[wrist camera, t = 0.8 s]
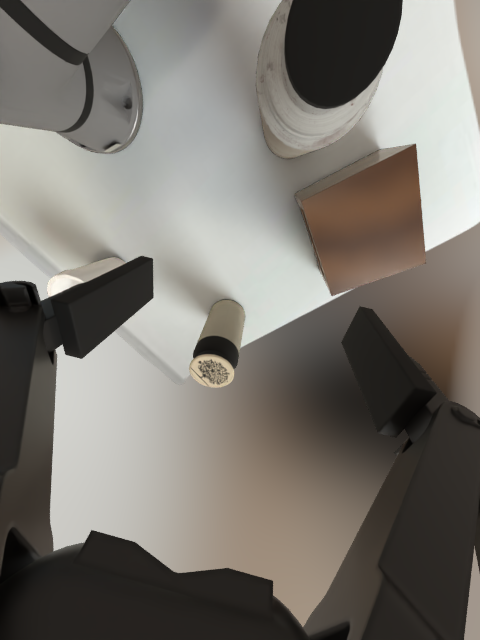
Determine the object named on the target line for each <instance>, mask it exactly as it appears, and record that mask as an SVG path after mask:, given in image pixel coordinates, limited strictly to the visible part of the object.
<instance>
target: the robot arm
mask: <svg viewBox="0 0 480 640" xmlns="http://www.w3.org/2000/svg"><path fill="white" fill-rule="evenodd" d="M129 2H130V0H0V124H6V125H13V126H20V127H27V128H34V129H41V130H48V131H54V132H57V133H58V134H60V135H61V136H63V137H64V138H66V139H68V140H69V141H71V142H72V143H74V144H75V145H77V146H79V147H81V148H83V149H86V150H88V151H91V152H96V153H105V154H110V153H116V152H119V151H121V150H123V149H125V148H126V147H127V146H128V145H129V144H130V143H131V142H132V141H133V139H134V138H135V136H136V134H137V132H138V130H139V127H140V123H141V119H142V111H143V97H142V88H141V83H140V79H139V75H138V71H137V68H136V65H135V63H134V60H133V58H132V56H131V54H130V52H129V50H128V48H127V46H126V44H125V43H124V41H123V40H122V38H121V36H120V35H119V34H118V32H117V31H116V30H115V29H114V28H113V26H112V24H113V22H114V21H115V20H116V19H117V17H118V16H119V15H120V13H121V12H122V11H123V9H124V8H125V7H126V6H127V4H128V3H129ZM152 298H153V259H152V258H148V257H144V256H140V257H138V258H136V259H134V260H132V261H130V262H127V263H125V264H123V265H121V266H119V267H117V268H115V269H113V270H111V271H109V272H107V273H104V274H102V275H100V276H98V277H96V278H94V279H92V280H90V281H88V282H84V283H80V284H77V285H75V286H72V287H70V288H69V289H66V290H64V291H62V293H61V292H60V293H57V294H55V295H53V296H51V297H49V298H47V299H45V300H42V301H40V297H39V295H38V291H37V288H36V285H35V284H33V283H31V282H26V281H10V282H4V283H0V640H464V633H465V624H466V615H467V606H468V597H469V588H470V579H471V571H472V562H473V553H474V545H475V550H476V556H477V560H478V566H479V571H480V418H479V417H478V416H477V415H476V414H475V413H473V412H472V411H470V410H469V409H467V408H466V407H464V406H462V405H460V404H458V403H455V402H452V401H449V400H448V399H447V398H446V396H445V395H444V394H443V393H442V391H441V390H440V389H439V388H438V387H437V385H436V384H435V383H434V382H433V381H431V378H430V377H429V375H428V374H426V371H425V370H424V369H423V368H422V367H421V365H420V364H419V363H417V362H416V361H415V360H414V359H412V358H411V357H409V356H408V355H407V354H406V352H405V351H404V350H403V348H402V347H401V346H400V344H399V343H398V342H397V341H396V339H395V338H394V337H393V335H392V334H391V333H390V332H389V330H388V329H387V328H386V326H385V325H384V324H383V322H382V321H381V320H380V319H379V317H378V316H377V315H376V314H375V312H374V311H373V310H372V309H369V308H365V307H359V309H358V311H357V313H356V315H355V317H354V319H353V321H352V322H351V324H350V326H349V328H348V330H347V332H346V334H345V336H344V338H343V340H342V342H341V343H342V345H343V348H344V350H345V353H346V355H347V357H348V360H349V363H350V365H351V367H352V370H353V372H354V375H355V377H356V380H357V382H358V385H359V387H360V390H361V392H362V395H363V397H364V400H365V402H366V405H367V407H368V410H369V412H370V415H371V417H372V420H373V422H374V424H375V427H376V429H377V432H378V433H380V434H384V435H388V436H392V437H397V436H398V435H399V434H400V433H401V432H402V430H403V429H404V428H405V430H406V432H407V434H408V436H409V438H408V439H407V440H406V441H405V442H404V443H403V444H402V445H401V446H400V448H398V449H397V450H396V451H395V454H396V455H397V457H396V459H395V461H394V463H393V465H392V467H391V469H390V471H389V473H388V475H387V477H386V479H385V481H384V482H383V484H382V486H381V488H380V490H379V492H378V494H377V496H376V498H375V500H374V502H373V504H372V506H371V508H370V510H369V512H368V514H367V516H366V518H365V520H364V521H363V523H362V525H361V527H360V529H359V531H358V533H357V535H356V537H355V539H354V541H353V543H352V545H351V547H350V549H349V551H348V553H347V555H346V557H345V559H344V561H343V562H342V564H341V566H340V568H339V570H338V572H337V574H336V576H335V578H334V580H333V582H332V584H331V586H330V588H329V590H328V591H327V593H326V595H325V596H324V598H323V599H322V601H321V602H320V603H319V605H318V606H317V607H316V608H315V610H314V611H313V612H312V614H311V615H310V617H309V618H308V620H307V622H306V624H305V625H304V627H302V626H301V624H300V623H299V622H298V620H297V619H296V618H295V617H294V615H293V614H292V613H291V612H290V611H289V609H288V608H287V607H286V606H284V604H283V603H281V602H280V601H279V600H278V599H277V598H276V597H274V596H273V581H272V580H268V579H264V578H261V577H257V576H254V575H250V574H247V573H243V572H240V571H236V570H233V569H229V568H224V569H215V570H206V571H196V572H187V573H176V572H173V571H172V570H170V569H169V568H168V567H166V566H165V565H164V564H163V563H161V562H160V561H159V560H157V559H156V558H155V557H154V556H152V555H151V554H150V553H148V552H147V551H146V550H144V549H143V548H142V547H141V546H139V545H138V544H137V543H135V542H132V541H129V540H125V539H122V538H118V537H115V536H111V535H107V534H104V533H100V532H97V531H91V532H90V534H89V536H88V538H87V540H86V541H85V543H79V544H75V545H71V546H67V547H64V548H61V549H59V550H56V551H53V537H52V531H51V525H50V495H51V475H52V454H53V432H54V411H55V389H56V367H57V354H56V350H55V349H56V348H58V347H59V346H60V345H62V344H63V347H64V351H65V354H66V355H69V356H73V357H77V358H81V359H82V358H83V357H85V356H86V355H87V354H88V353H89V352H90V351H92V350H93V349H94V348H95V347H96V346H97V345H99V344H100V343H101V342H102V341H103V340H104V339H106V338H107V337H108V336H109V335H110V334H112V333H113V332H114V331H115V330H116V329H117V328H119V327H120V326H121V325H122V324H123V323H124V322H126V321H127V320H128V319H129V318H130V317H131V316H133V315H134V314H135V313H136V312H137V311H138V310H140V309H141V308H142V307H143V306H144V305H145V304H147V303H148V302H149V301H150V300H151V299H152Z"/></svg>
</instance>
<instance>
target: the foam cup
mask: <svg viewBox="0 0 480 640" xmlns="http://www.w3.org/2000/svg"><path fill="white" fill-rule="evenodd" d="M123 264H125V262H124V261H123V260H121V259H119V258H115V257H112V258H107V259H104V260H100V261H97V262H94V263H91V264H88V265H85V266H81V267H78V268H75V269H71V270H65V271H63V272H61V273H59V274H57V275H55V276H54V277H53V278H52V279H51V280H50V281H49V282H48V288H47V293H48V295H49V297H51V296H53V295H55V294H57V293H60V292H61V293H62V291H64V290H66V289H69V288H70V287H72V286H75V285H77V284H80V283H84V282H88V281H90V280H92V279H94V278H96V277H98V276H100V275H102V274H104V273H107V272H109V271H111V270H113V269H115V268H117V267H119V266H121V265H123Z"/></svg>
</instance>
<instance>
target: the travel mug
mask: <svg viewBox="0 0 480 640" xmlns="http://www.w3.org/2000/svg"><path fill="white" fill-rule="evenodd" d="M244 321H245V312H244V310H243V308H242V307H241V306H240V305H239V304H238V303H236V302H234V301H231V300H221V301H219V302H217V303H215V304H214V305H213V307H212V309H211V311H210V313H209V316H208V318H207V321H206V323H205V325H204V328H203V330H202V333H201V335H200V338H199V340H198V342H197V345H196V347H195V350H194V352H193V358H194V359H193V360H192V361H191V363H190V367H189V370H190V373H191V375H192V377H193V378H194V379H195V380H196V381H197V382H199V383H201V384H202V385H205V386H208V387H223V386H225V385H227V384H229V383H230V382H231V381H232V380H233V377H234V369H235V368H236V366H237V363H238V357H239V351H240V345H241V339H242V333H243V327H244Z"/></svg>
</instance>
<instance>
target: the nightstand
mask: <svg viewBox="0 0 480 640" xmlns="http://www.w3.org/2000/svg"><path fill="white" fill-rule="evenodd" d="M295 197H296V200H297V203H298V204H299V206H300V209H301V212H302V215H303V218H304V221H305V225H306V228H307V231H308V234H309V237H310V240H311V243H312V246H313V249H314V252H315V255H316V258H317V261H318V264H319V266H318V267H319V270H320V273H321V275H322V277H323V279H324V281H325V283H326V285H327V287H328V289H329V291H330V294H331V296H333V295H336V294H339V293H342V292H345V291H348V290H351V289H353V288H356V287H359V286H362V285H365V284H368V283H371V282H374V281H377V280H379V279H382V278H385V277H388V276H391V275H394V274H396V273H399V272H402V271H405V270H408V269H411V268H414V267H417V266H420V265H423V264H425V263H426V258H425V245H424V233H423V221H422V209H421V197H420V186H419V174H418V162H417V150H416V144H411V145H405V146H399V147H393V148H386V149H380V150H378V151H376V152H374V153H372V154H370V155H368V156H366V157H364V158H362V159H361V160H359V161H357V162H355V163H353V164H351V165H349V166H347V167H345V168H343V169H341V170H339V171H337V172H335V173H334V174H332V175H330V176H328V177H326V178H324V179H322V180H320V181H318V182H316V183H314V184H312V185H310V186H309V187H307V188H305V189H303V190H301V191H299V192H297V193H295Z"/></svg>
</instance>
